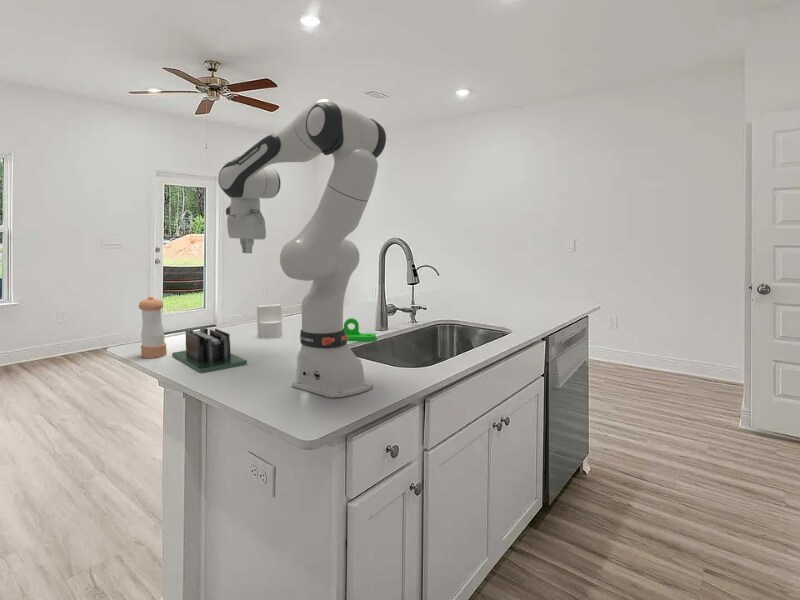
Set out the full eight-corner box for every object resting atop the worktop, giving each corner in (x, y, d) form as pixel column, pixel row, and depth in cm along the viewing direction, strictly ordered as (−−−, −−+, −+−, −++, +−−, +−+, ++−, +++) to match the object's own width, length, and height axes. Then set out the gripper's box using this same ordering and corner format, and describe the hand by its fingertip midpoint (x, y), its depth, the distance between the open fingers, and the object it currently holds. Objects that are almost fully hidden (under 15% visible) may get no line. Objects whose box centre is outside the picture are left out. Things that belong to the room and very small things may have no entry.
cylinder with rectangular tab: (277, 332, 194) (276, 303, 192) (285, 337, 186) (284, 306, 185) (254, 335, 189) (253, 304, 187) (261, 339, 182) (260, 308, 180)
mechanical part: (343, 342, 180) (343, 321, 179) (344, 338, 186) (344, 318, 185) (376, 342, 181) (376, 320, 180) (375, 338, 187) (375, 318, 186)
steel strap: (222, 345, 148) (222, 340, 147) (212, 346, 146) (212, 342, 145) (200, 334, 161) (200, 329, 160) (190, 335, 159) (190, 331, 158)
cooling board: (246, 364, 149) (245, 336, 148) (200, 373, 140) (199, 343, 138) (215, 349, 167) (214, 324, 165) (172, 356, 157) (170, 330, 156)
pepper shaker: (143, 353, 160) (139, 295, 157) (167, 351, 163) (164, 294, 160) (140, 359, 154) (135, 298, 151) (165, 357, 156) (162, 297, 153)
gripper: (270, 209, 150) (271, 254, 152) (241, 210, 165) (242, 251, 167) (251, 208, 146) (252, 255, 148) (223, 209, 161) (224, 252, 163)
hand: (247, 253), depth 158 cm, fingers closed
